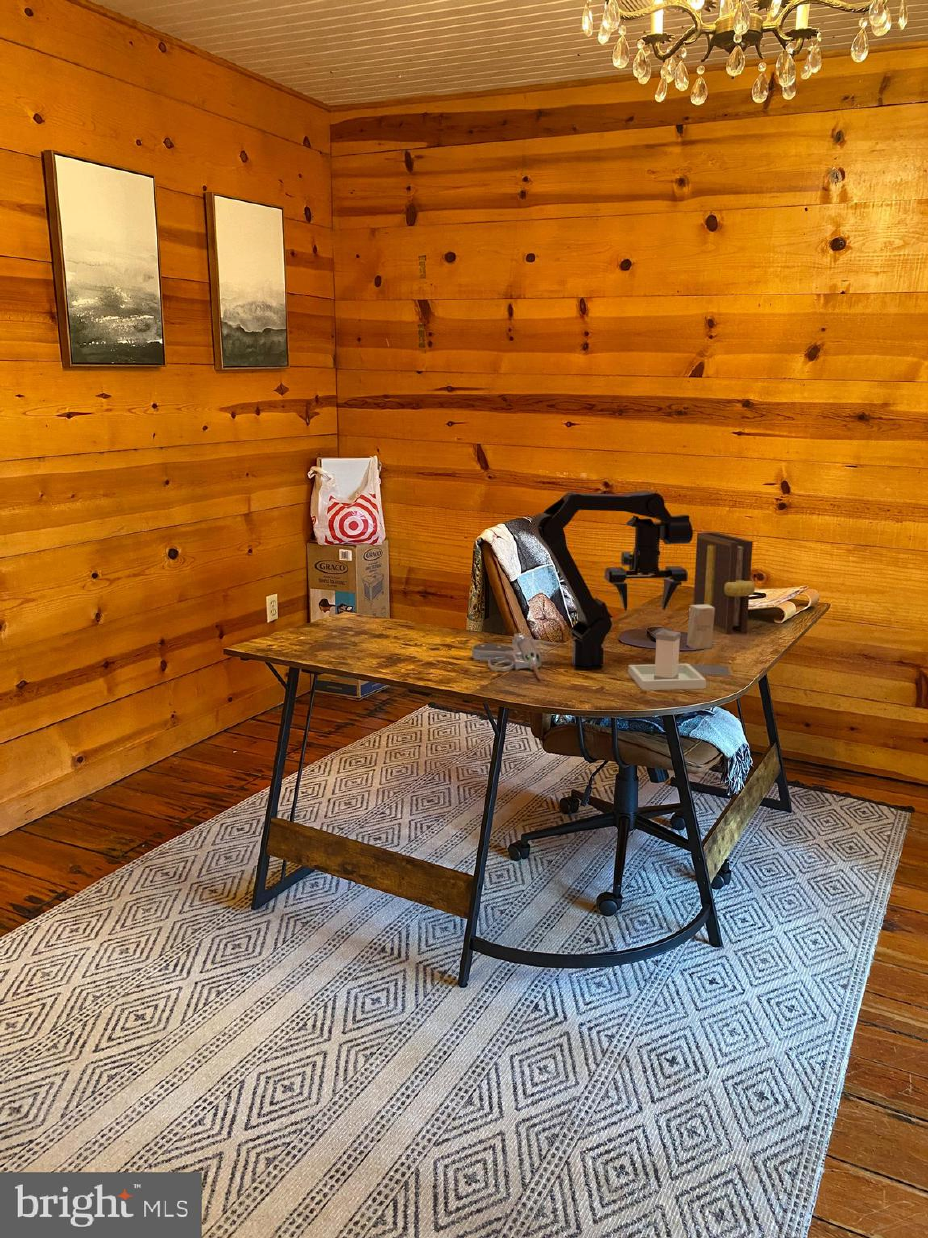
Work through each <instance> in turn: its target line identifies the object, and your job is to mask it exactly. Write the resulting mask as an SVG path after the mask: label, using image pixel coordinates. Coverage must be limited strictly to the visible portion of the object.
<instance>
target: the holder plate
mask: <svg viewBox="0 0 928 1238" xmlns="http://www.w3.org/2000/svg"><path fill="white" fill-rule="evenodd" d="M688 664H689V663H688ZM689 665H690V666H692V667H693V668H694V669H695V670H696V671H697V672H698V673H699V674H701V675H708V676H711V675H712V676H730V677H731V672H730V669H729V666H728V665H711V664H696V663H695V664H691V663H690V664H689Z"/></svg>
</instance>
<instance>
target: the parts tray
mask: <svg viewBox="0 0 928 1238" xmlns="http://www.w3.org/2000/svg"><path fill="white" fill-rule="evenodd" d="M627 674H628V676H629V677H631V679H632V681H634V682H635V683H636V684H637V686H638V687H639V688H640V689H641V690H642V691H669V690H671V691H672V690H704V689H705V690H706V689H707V679H706V678H705V677H704V676H703V674H699V673H698V672H697V671H696V670H695V669H694V668H693V667H692V666H690V665H689V663H678V679H661V680H654V675H655V664H652V663H651V664H650V663H649V664H628V672H627Z"/></svg>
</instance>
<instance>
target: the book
mask: <svg viewBox="0 0 928 1238" xmlns="http://www.w3.org/2000/svg"><path fill="white" fill-rule="evenodd" d="M753 544H754V541H752V540H749V539H744V538H740V537H736V536H732V535H727V534H725V533H720V532H696V546H695V547H696V548H695V549H696V550H695V566H694V584H693V586H694V587H693V589H694V590H693V603H692V605H705V604H708V605H710V606H712V607H714V608H715V611H714V624H713V631H716V632H719V633H722V634H724V635H728V636H729V635H730V636H731V635H733V631H734V632H737V633H740V634H747V632H748V618H749V617H748V616H749V604H750V596H752V595H754V594H755V589H756V588H755V587H756V585H755V583H754V582H753V581H752V580H751V575H752V559H753Z"/></svg>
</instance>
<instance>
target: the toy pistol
mask: <svg viewBox="0 0 928 1238" xmlns="http://www.w3.org/2000/svg"><path fill="white" fill-rule="evenodd" d="M513 635H514V638H512V639H511V641H512V642H511V645H508V644H497V643H478V644H475V645H473V646H472V648H471V651H472V659H473V658H474V659H473V660H474V661H476V660H480V661H479V662H482V661H488V662H487V667H488V668H489V669H491V670H493V671H498V672H499V671H503V672H504V671H509V670H512V669H515V670H516V671H518V670H522V669H529V670H530V671H534V672H535V675H536V677H537V678H538V680H542V675H541V673H540V671H539V668H540V667H541V665H542V658H541V655H540V653H539V651H538V649H537V647H536V644H535V643H534V641H533V640H534V638H533V637H532V636H526V634H525V633H524V632H518V633H514V634H513ZM493 662H497V663H494V665H493V664H492V663H493ZM503 663H504V664H505V665H506V666H498V665H500V664H503Z"/></svg>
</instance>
